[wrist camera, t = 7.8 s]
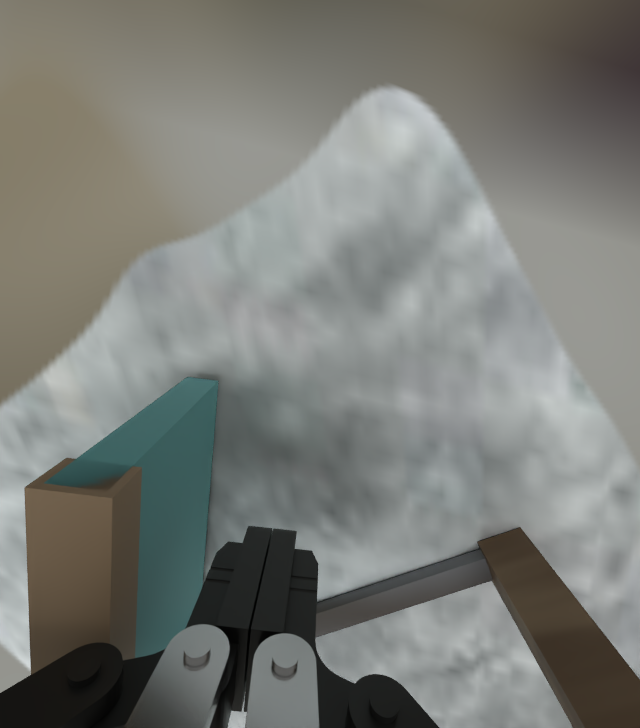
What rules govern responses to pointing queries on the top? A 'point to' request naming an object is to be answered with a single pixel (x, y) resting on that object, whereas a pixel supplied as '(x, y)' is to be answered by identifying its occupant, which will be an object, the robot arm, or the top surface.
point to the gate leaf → (123, 532)
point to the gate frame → (532, 616)
